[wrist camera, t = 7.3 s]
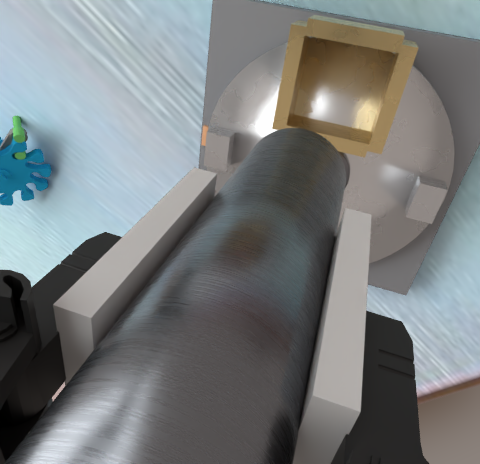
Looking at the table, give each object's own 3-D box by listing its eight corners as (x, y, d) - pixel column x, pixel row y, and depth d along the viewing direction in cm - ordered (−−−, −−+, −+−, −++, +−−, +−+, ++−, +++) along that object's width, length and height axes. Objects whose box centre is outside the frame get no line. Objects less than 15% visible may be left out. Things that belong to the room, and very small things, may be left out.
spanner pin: (254, 117, 15) (-459, 856, 2) (359, 142, 15) (175, 1357, 2) (239, 207, 18) (-173, 850, 5) (330, 233, 17) (152, 1069, 4)
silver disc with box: (399, 286, 39) (400, 316, 35) (201, 230, 42) (185, 252, 39) (509, 48, 27) (528, 58, 24) (224, -4, 30) (204, -1, 27)
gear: (27, 217, 50) (-73, 196, 42) (22, 182, 53) (-72, 156, 45) (74, 157, 45) (-29, 121, 37) (66, 122, 48) (-30, 82, 40)
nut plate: (221, -7, 32) (212, -6, 31) (516, 46, 29) (525, 51, 27) (199, 224, 45) (191, 235, 43) (405, 282, 41) (406, 297, 39)
